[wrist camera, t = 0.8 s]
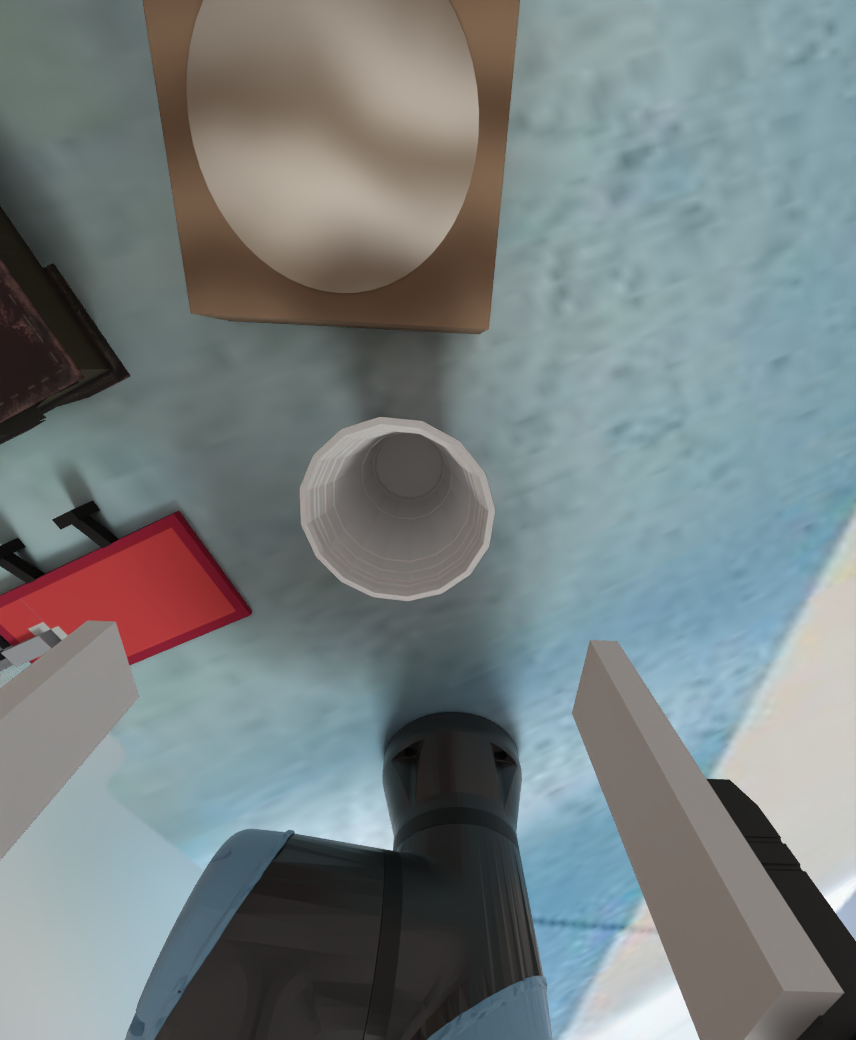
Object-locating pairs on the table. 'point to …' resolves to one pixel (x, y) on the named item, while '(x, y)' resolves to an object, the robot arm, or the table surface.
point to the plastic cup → (396, 508)
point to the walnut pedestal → (337, 156)
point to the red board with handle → (118, 591)
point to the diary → (44, 340)
